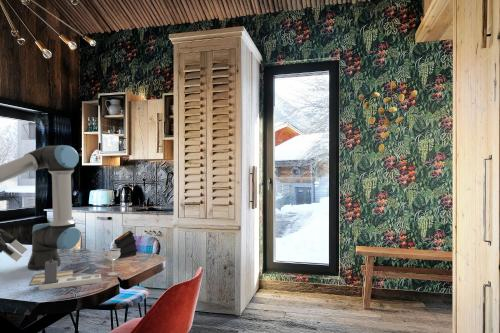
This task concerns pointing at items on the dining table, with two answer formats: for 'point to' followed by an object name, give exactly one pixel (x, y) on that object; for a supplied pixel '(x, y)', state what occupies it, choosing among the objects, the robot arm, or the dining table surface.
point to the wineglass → (113, 257)
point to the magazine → (126, 244)
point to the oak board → (60, 274)
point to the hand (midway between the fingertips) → (22, 255)
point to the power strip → (71, 281)
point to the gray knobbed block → (50, 272)
